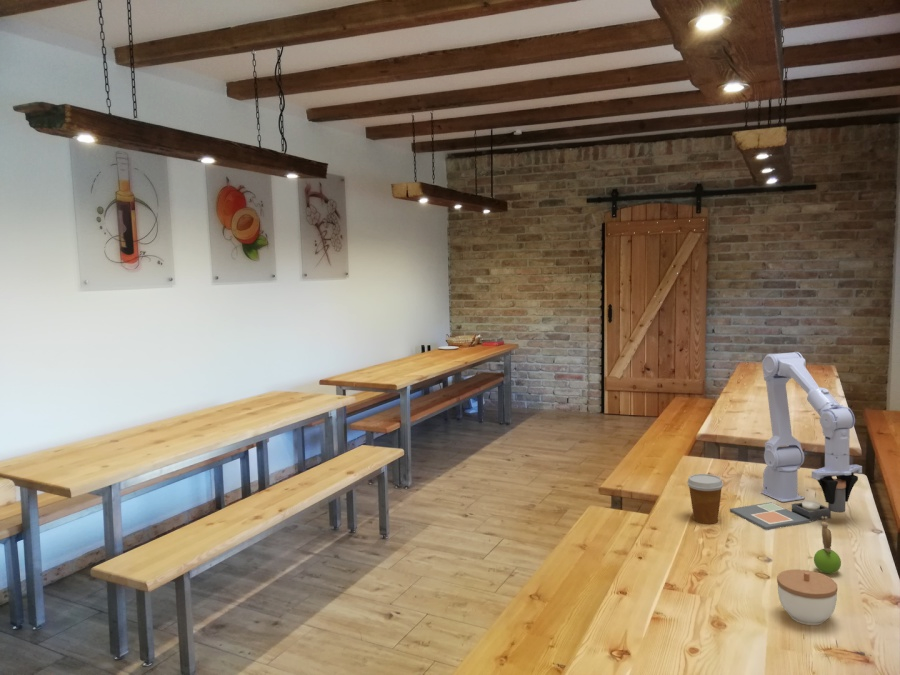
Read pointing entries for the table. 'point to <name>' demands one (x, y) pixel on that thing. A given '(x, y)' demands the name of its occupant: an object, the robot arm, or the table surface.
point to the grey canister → (839, 497)
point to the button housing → (811, 512)
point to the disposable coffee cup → (705, 497)
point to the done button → (810, 505)
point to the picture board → (769, 516)
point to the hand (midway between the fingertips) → (836, 501)
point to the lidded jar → (807, 595)
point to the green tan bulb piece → (827, 553)
